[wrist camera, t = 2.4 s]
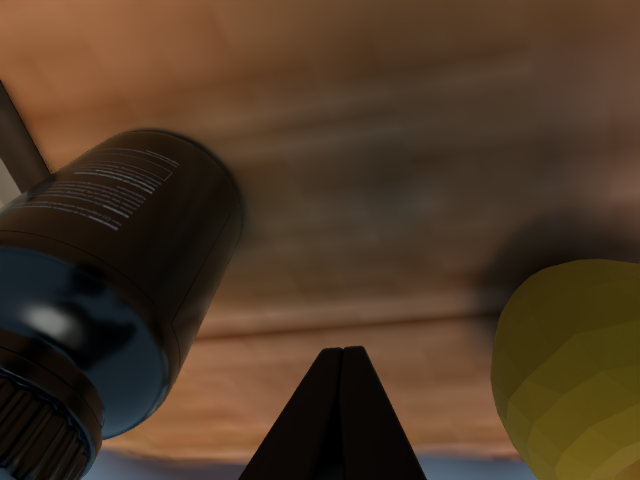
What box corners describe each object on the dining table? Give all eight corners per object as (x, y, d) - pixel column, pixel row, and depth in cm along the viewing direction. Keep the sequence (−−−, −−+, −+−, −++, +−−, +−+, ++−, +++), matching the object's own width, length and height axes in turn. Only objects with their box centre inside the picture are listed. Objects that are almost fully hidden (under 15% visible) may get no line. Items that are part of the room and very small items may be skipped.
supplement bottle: (62, 208, 19) (-302, 480, 8) (134, 88, 16) (-292, 284, 5) (192, 295, 21) (26, 602, 10) (279, 203, 18) (166, 507, 7)
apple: (716, 290, 18) (969, 510, 11) (547, 389, 22) (645, 602, 14) (588, 172, 16) (793, 342, 8) (426, 305, 20) (467, 503, 12)
